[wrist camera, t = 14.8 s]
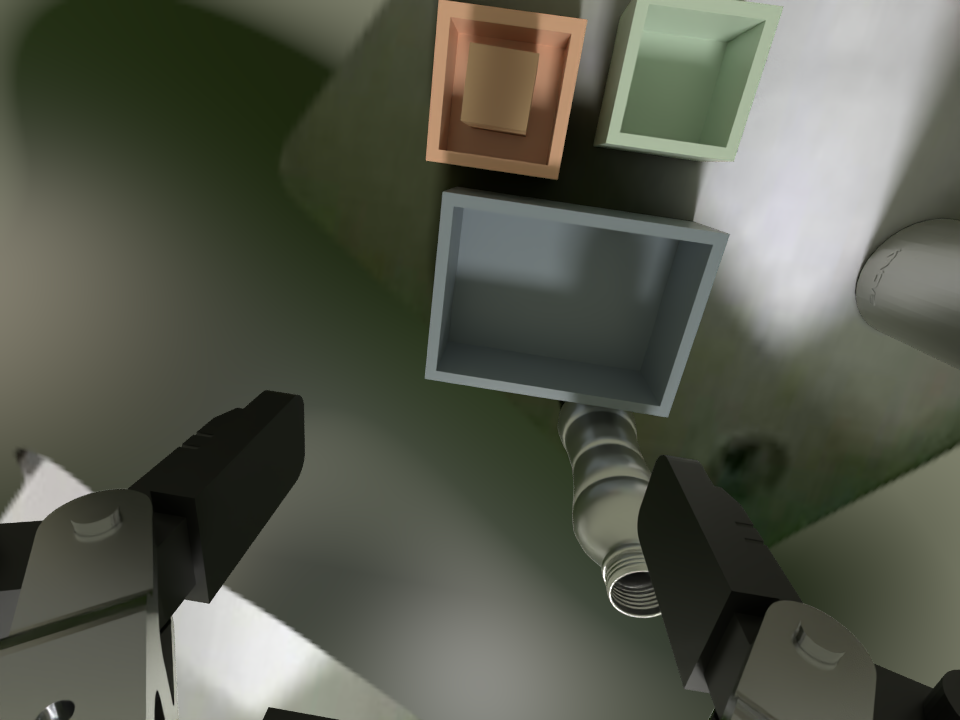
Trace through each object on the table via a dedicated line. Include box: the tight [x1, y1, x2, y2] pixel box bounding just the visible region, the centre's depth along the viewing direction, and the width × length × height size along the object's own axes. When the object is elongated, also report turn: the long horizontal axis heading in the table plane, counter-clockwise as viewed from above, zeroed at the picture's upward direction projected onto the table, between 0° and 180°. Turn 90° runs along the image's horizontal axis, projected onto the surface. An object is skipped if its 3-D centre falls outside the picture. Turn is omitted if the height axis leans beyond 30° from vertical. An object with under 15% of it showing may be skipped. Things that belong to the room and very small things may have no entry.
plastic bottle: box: [558, 401, 661, 618], centre depth 34 cm, size 6×7×20 cm
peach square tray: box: [426, 0, 587, 180], centre depth 32 cm, size 9×9×4 cm
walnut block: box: [461, 42, 539, 137], centre depth 31 cm, size 4×4×7 cm
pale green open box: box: [593, 0, 783, 162], centre depth 30 cm, size 8×8×6 cm
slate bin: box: [425, 187, 730, 417], centre depth 36 cm, size 19×14×7 cm
